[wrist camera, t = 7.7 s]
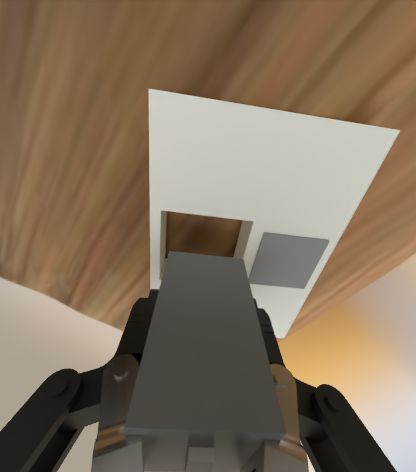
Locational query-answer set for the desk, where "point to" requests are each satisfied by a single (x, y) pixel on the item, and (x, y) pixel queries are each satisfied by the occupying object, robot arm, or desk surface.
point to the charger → (204, 371)
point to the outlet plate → (260, 187)
